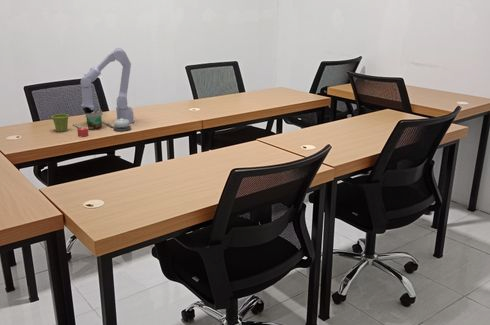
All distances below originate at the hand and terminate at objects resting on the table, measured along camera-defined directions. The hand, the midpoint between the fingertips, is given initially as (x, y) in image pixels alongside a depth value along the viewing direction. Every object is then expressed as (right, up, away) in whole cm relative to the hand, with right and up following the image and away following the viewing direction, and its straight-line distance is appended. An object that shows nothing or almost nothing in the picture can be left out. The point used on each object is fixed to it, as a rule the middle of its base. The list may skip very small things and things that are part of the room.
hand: (89, 119), depth 296 cm
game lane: (+4, -4, -3) cm, 6 cm away
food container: (+7, -6, -7) cm, 12 cm away
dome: (+22, -4, -10) cm, 24 cm away
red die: (+4, -11, -22) cm, 25 cm away
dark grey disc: (+22, -6, -9) cm, 25 cm away
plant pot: (-12, -7, -12) cm, 19 cm away
